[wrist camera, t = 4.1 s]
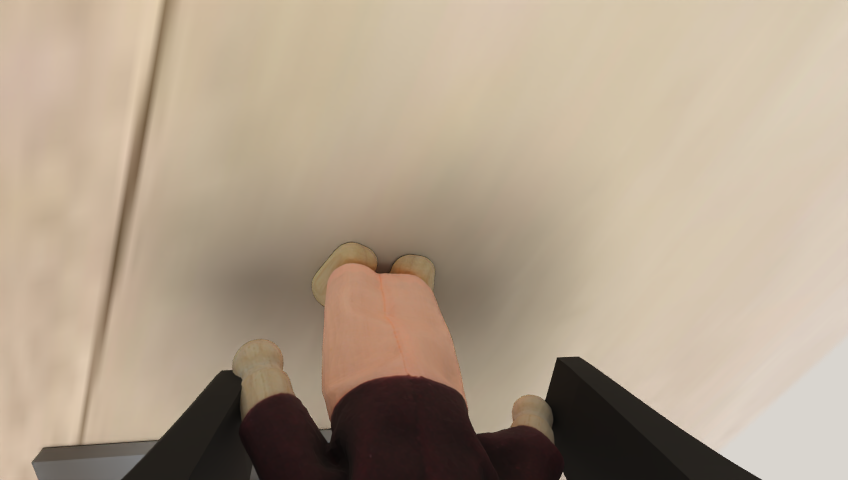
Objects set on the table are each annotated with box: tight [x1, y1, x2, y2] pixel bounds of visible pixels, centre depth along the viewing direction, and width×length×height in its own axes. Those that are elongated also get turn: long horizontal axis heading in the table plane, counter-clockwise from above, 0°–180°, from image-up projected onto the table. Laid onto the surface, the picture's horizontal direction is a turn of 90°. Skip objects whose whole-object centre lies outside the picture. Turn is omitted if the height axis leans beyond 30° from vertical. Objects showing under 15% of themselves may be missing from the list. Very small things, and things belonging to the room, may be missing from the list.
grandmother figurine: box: [232, 242, 564, 480], centre depth 9 cm, size 8×4×13 cm, turn 83°
